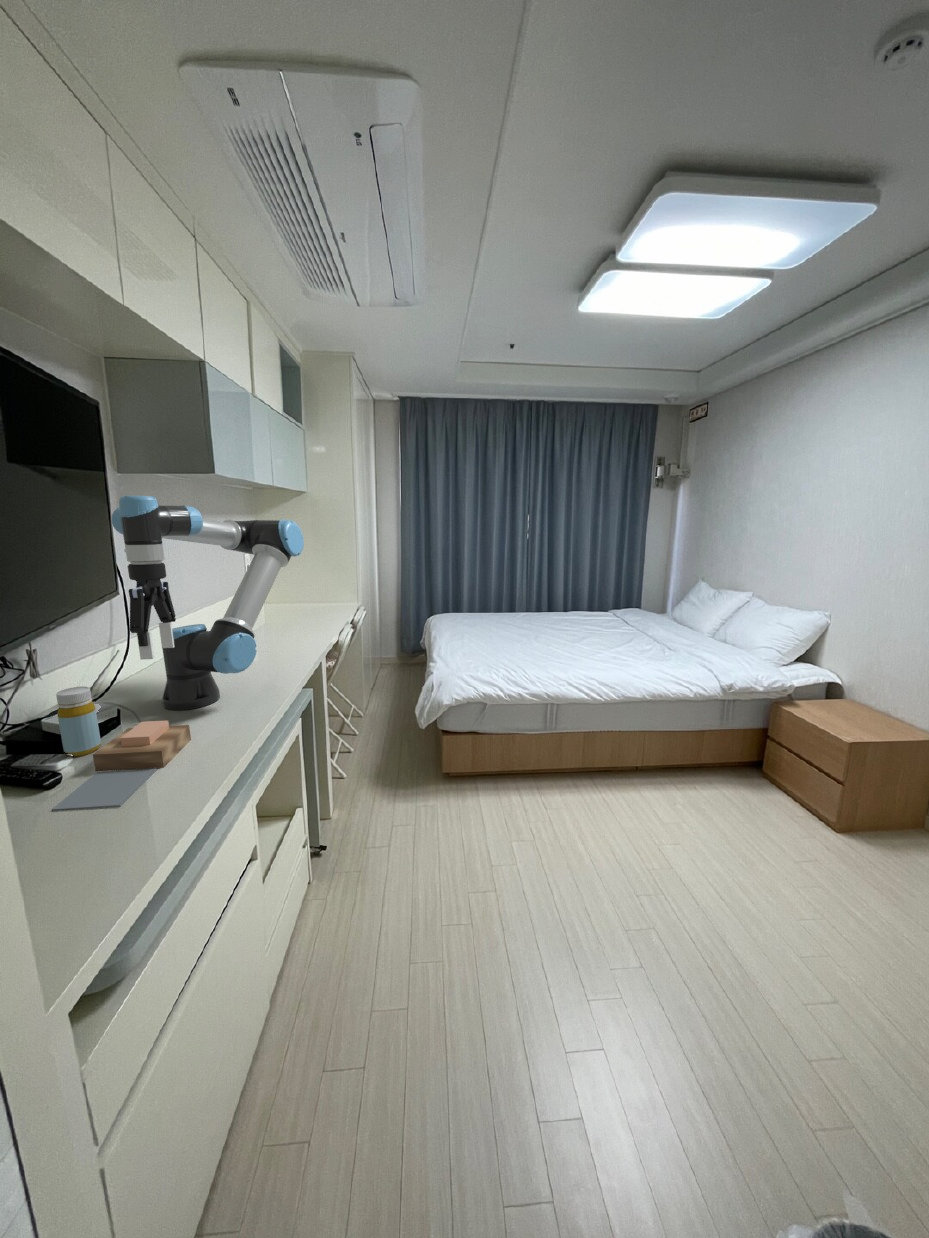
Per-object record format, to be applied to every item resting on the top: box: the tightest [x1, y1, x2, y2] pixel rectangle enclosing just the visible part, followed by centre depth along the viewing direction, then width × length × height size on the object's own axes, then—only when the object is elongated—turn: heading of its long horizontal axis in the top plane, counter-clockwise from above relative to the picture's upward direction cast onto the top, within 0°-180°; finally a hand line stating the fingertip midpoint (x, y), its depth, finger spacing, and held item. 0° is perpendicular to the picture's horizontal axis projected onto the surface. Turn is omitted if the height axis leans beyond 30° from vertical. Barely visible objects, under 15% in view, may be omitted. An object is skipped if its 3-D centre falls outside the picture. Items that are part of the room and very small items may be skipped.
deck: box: [92, 724, 192, 772], centre depth 113 cm, size 14×14×4 cm
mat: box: [51, 768, 158, 812], centre depth 99 cm, size 14×12×1 cm
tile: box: [121, 720, 170, 746], centre depth 113 cm, size 9×6×2 cm, turn 7°
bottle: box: [55, 686, 102, 758], centre depth 114 cm, size 7×7×15 cm
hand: (158, 652), depth 120 cm, fingers open, 10 cm apart
